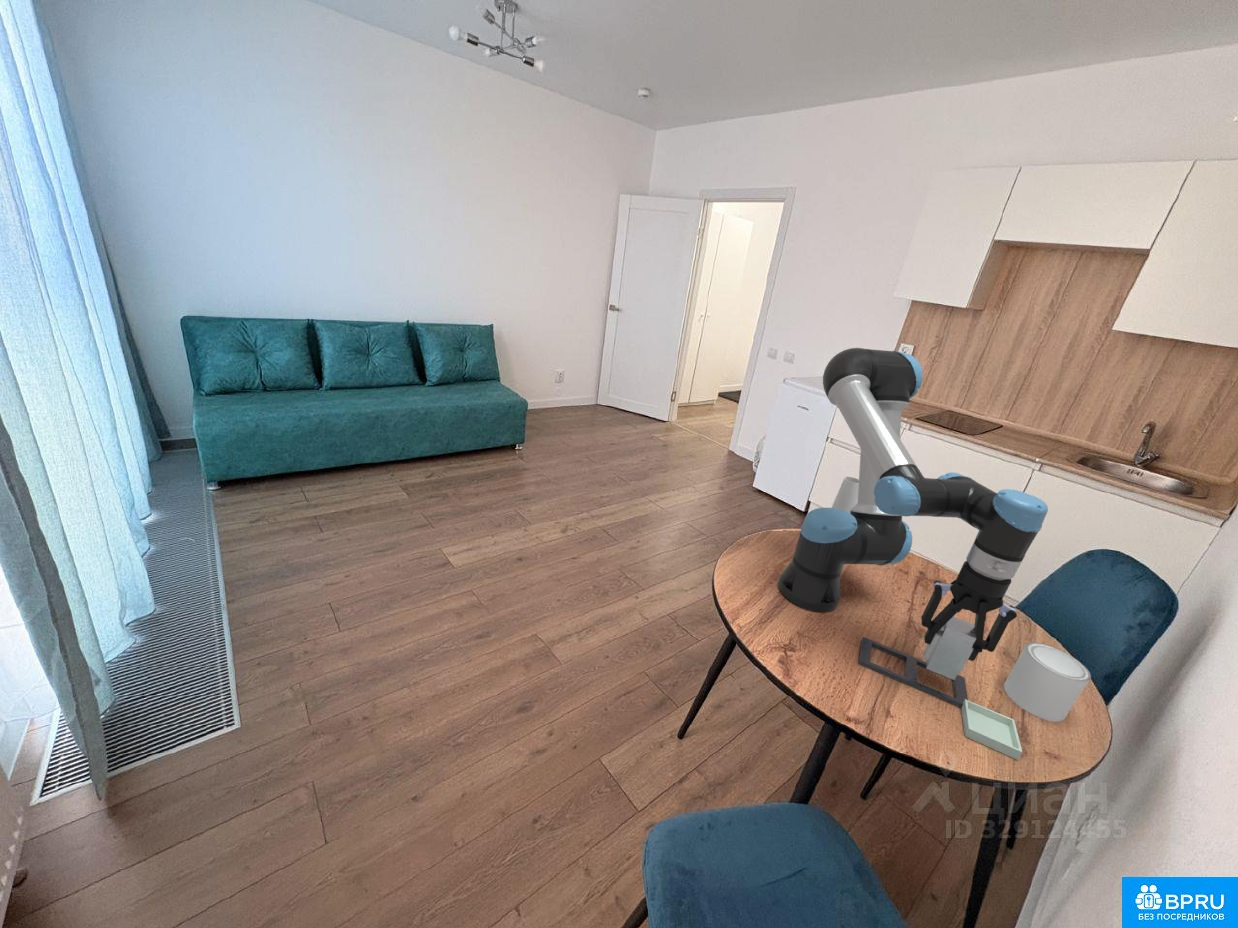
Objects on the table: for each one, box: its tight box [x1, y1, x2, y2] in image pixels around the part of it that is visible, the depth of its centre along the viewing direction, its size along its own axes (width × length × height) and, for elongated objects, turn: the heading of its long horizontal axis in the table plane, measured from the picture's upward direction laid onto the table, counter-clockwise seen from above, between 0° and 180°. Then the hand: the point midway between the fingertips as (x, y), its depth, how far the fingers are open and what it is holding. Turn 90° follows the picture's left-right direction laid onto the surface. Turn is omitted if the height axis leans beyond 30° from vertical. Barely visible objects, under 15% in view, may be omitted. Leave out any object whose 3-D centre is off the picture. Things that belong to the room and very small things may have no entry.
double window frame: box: [858, 636, 969, 709], centre depth 101 cm, size 20×9×1 cm, turn 59°
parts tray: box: [960, 699, 1023, 761], centre depth 88 cm, size 8×8×2 cm
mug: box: [1003, 641, 1092, 723], centre depth 97 cm, size 14×10×11 cm
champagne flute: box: [830, 476, 859, 513], centre depth 142 cm, size 7×7×24 cm
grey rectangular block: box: [925, 616, 976, 681], centre depth 96 cm, size 5×5×11 cm
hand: (941, 661), depth 98 cm, fingers closed on grey rectangular block, 5 cm apart
